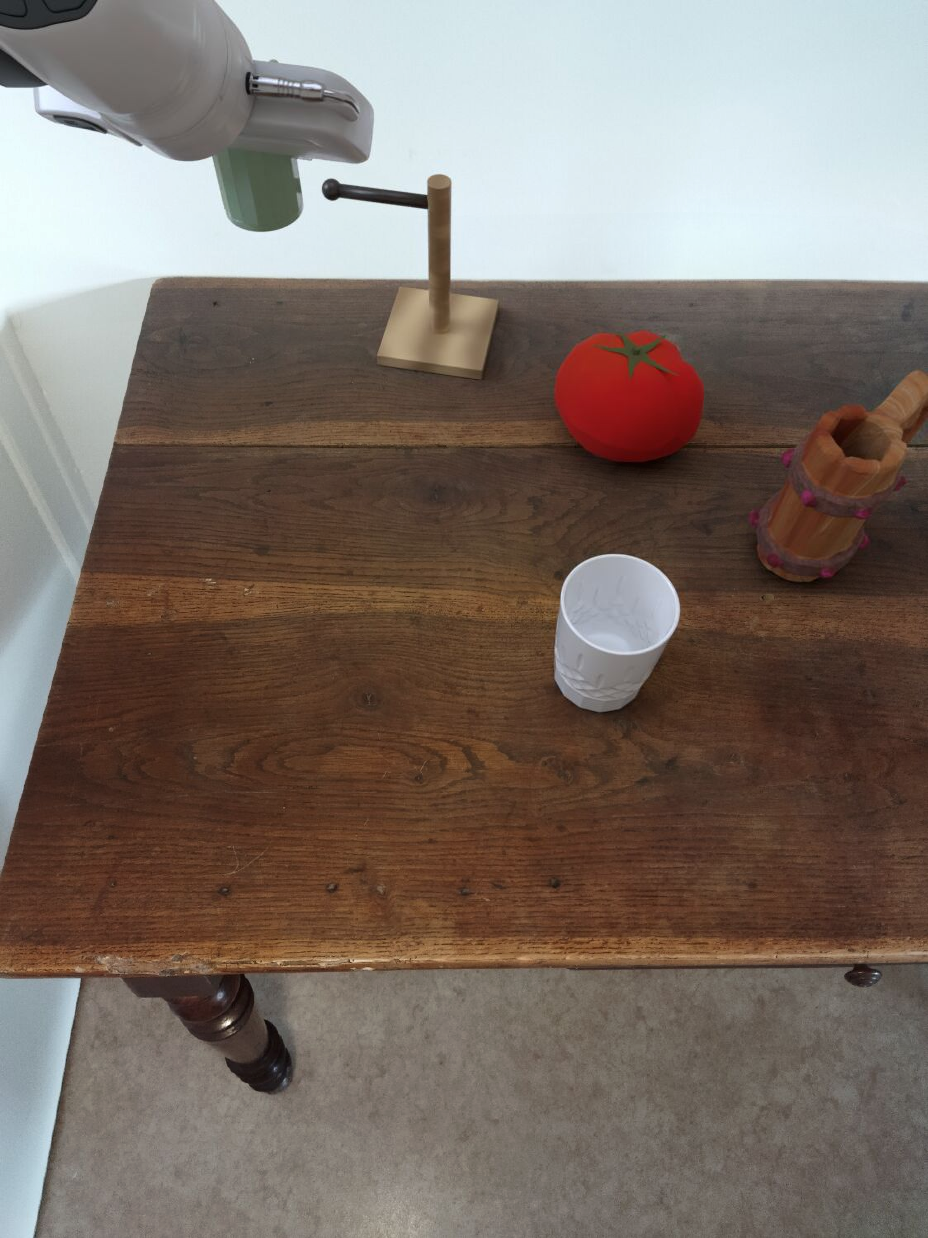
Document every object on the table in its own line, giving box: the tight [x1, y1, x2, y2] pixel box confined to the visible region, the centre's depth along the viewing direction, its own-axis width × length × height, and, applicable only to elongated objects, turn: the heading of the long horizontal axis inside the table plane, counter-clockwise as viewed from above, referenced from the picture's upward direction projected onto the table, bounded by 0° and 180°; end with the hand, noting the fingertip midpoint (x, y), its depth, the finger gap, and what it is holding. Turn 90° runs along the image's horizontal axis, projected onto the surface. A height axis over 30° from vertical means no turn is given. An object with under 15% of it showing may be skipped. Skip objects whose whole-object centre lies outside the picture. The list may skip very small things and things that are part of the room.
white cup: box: [553, 553, 681, 713], centre depth 63 cm, size 8×8×10 cm
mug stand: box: [321, 173, 500, 380], centre depth 79 cm, size 15×10×16 cm, turn 80°
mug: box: [748, 369, 928, 583], centre depth 67 cm, size 15×8×15 cm, turn 131°
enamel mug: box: [211, 58, 304, 233], centre depth 66 cm, size 10×6×9 cm, turn 170°
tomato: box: [554, 327, 705, 463], centre depth 75 cm, size 11×13×10 cm
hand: (254, 141), depth 65 cm, fingers closed on enamel mug, 6 cm apart
